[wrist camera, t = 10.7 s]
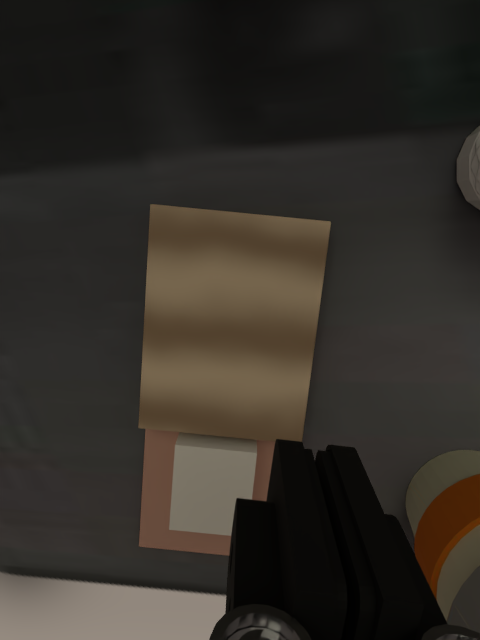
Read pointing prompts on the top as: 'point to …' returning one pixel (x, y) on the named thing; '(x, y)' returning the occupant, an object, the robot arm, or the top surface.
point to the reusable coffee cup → (449, 532)
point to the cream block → (210, 481)
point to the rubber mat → (160, 492)
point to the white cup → (470, 168)
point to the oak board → (230, 322)
